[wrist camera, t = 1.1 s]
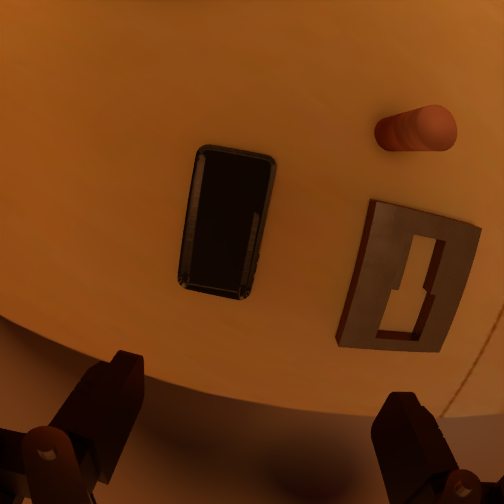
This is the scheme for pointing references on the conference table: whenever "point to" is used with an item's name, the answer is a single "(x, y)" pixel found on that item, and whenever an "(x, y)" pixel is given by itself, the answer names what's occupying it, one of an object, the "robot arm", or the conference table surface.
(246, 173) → the phone
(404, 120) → the peg
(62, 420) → the robot arm
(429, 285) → the keyhole plate
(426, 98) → the conference table surface
